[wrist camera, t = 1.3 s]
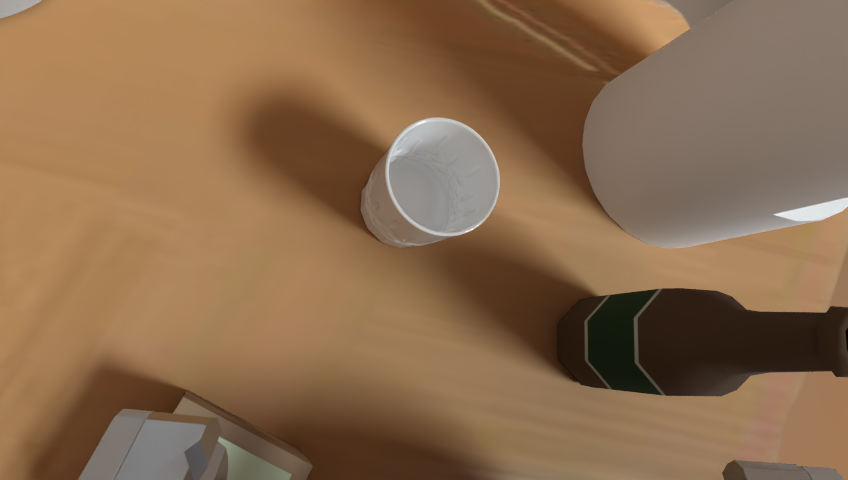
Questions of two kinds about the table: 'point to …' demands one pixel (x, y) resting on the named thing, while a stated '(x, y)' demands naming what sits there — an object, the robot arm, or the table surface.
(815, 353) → the beer bottle
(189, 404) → the stand block
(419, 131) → the white cup
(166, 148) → the table surface
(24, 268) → the table surface
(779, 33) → the cylinder
